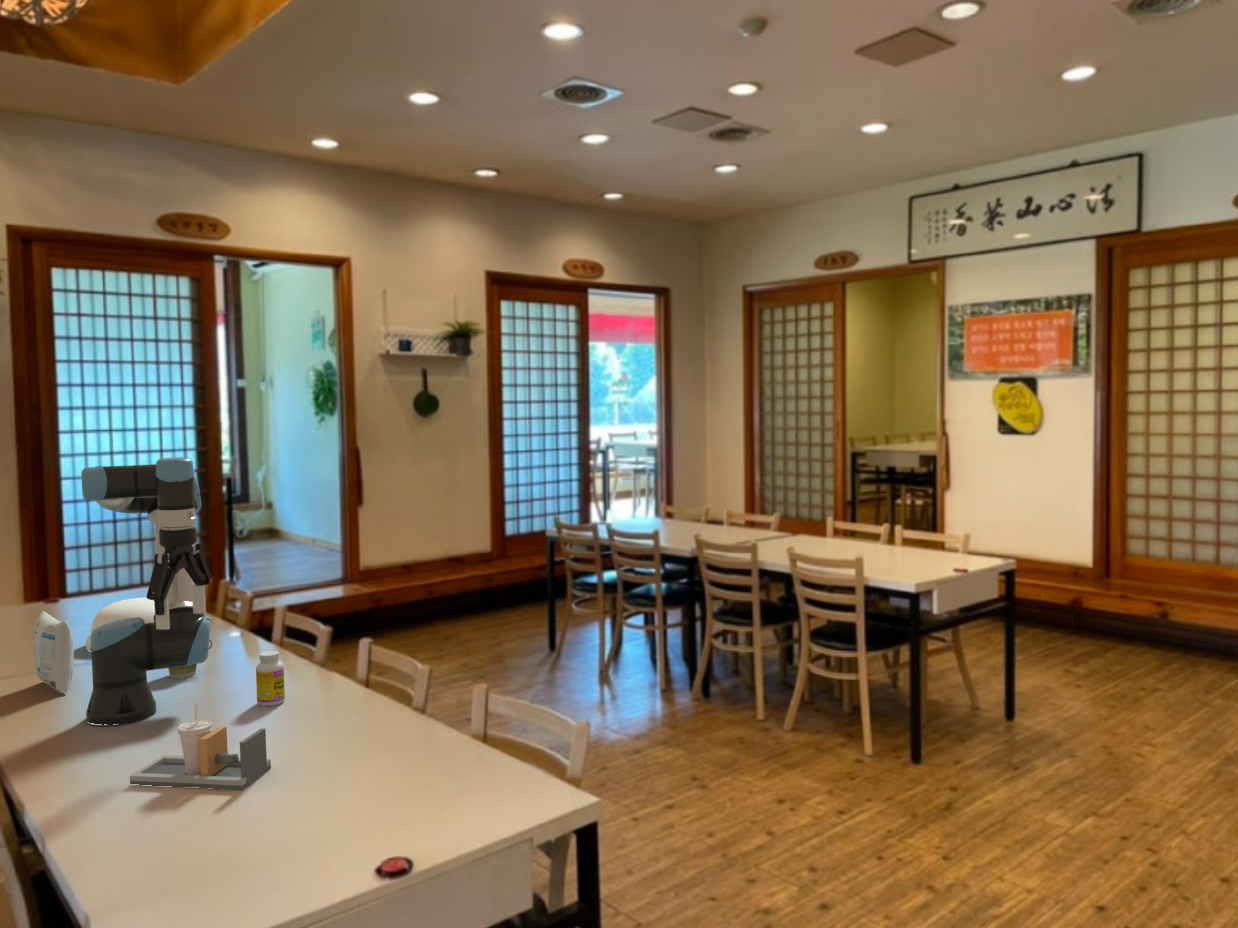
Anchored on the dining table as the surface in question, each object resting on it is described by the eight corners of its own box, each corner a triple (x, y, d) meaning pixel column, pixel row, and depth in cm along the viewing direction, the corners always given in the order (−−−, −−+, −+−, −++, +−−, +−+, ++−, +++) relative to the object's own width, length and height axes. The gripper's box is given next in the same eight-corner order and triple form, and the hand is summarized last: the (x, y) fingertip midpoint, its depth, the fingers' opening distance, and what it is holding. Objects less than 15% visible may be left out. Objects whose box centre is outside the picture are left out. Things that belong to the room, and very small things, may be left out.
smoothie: (221, 767, 190) (217, 701, 189) (197, 779, 184) (194, 711, 183) (196, 764, 192) (193, 698, 191) (172, 776, 186) (168, 708, 185)
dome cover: (132, 629, 318) (130, 589, 317) (210, 632, 312) (209, 591, 311) (60, 654, 286) (58, 610, 285) (146, 657, 281) (144, 612, 280)
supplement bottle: (275, 707, 231) (273, 657, 230) (251, 706, 232) (249, 656, 231) (290, 699, 237) (288, 650, 236) (267, 698, 238) (264, 649, 238)
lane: (130, 785, 184) (127, 741, 183) (164, 764, 195) (162, 722, 194) (242, 790, 181) (240, 745, 180) (270, 768, 191) (269, 726, 191)
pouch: (47, 699, 241) (42, 624, 239) (31, 684, 254) (26, 612, 253) (81, 692, 246) (77, 618, 245) (63, 678, 260) (59, 608, 259)
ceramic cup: (163, 682, 254) (161, 646, 253) (162, 673, 263) (161, 638, 262) (214, 675, 260) (213, 640, 259) (212, 666, 269) (210, 632, 268)
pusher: (201, 778, 184) (199, 739, 183) (221, 764, 191) (219, 726, 190) (226, 779, 183) (224, 739, 182) (246, 765, 190) (244, 727, 190)
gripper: (157, 537, 192) (162, 636, 194) (224, 519, 217) (228, 607, 219) (124, 536, 193) (130, 635, 195) (195, 518, 218) (199, 606, 220)
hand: (182, 621), depth 207 cm, fingers open, 13 cm apart
